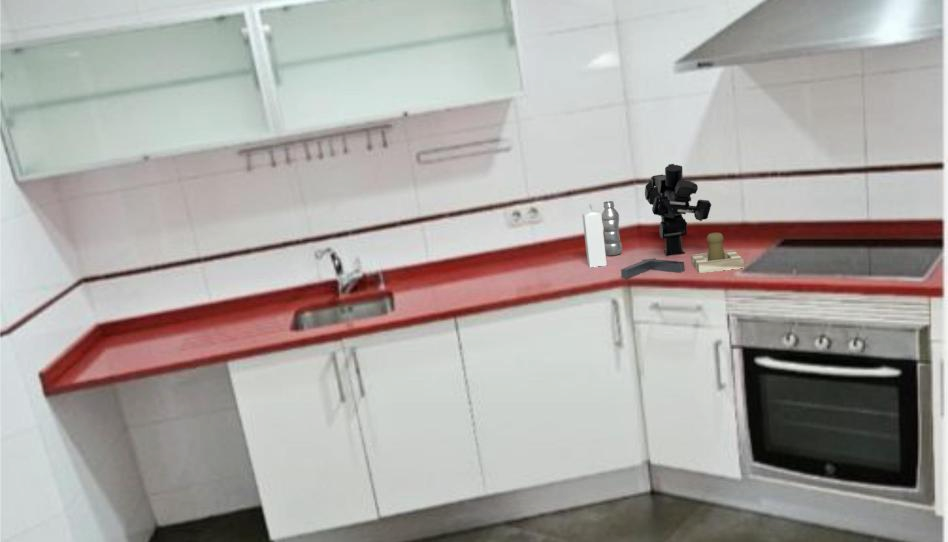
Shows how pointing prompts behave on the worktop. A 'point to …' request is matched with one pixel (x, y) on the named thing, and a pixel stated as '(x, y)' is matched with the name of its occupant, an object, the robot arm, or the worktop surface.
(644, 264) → the v-block
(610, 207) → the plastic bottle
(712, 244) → the cork
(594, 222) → the milk
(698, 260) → the cream wooden slatted block
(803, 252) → the worktop surface
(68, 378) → the worktop surface
